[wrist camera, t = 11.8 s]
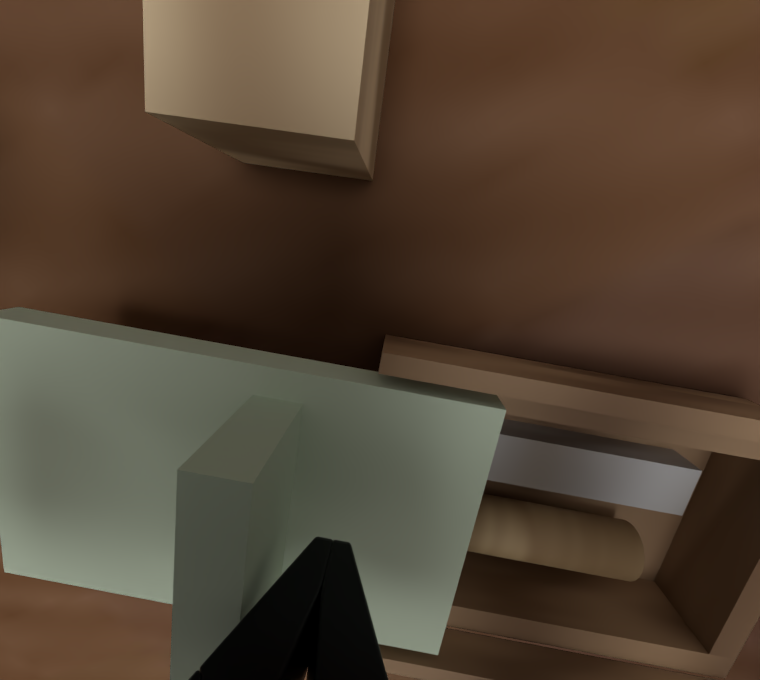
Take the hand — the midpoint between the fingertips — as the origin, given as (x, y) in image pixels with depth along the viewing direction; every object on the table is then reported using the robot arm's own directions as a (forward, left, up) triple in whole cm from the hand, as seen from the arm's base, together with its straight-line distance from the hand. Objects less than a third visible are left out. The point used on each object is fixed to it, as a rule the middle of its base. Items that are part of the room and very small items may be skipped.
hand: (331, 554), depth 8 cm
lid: (+3, 0, -2) cm, 4 cm away
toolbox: (-6, 0, -5) cm, 8 cm away
